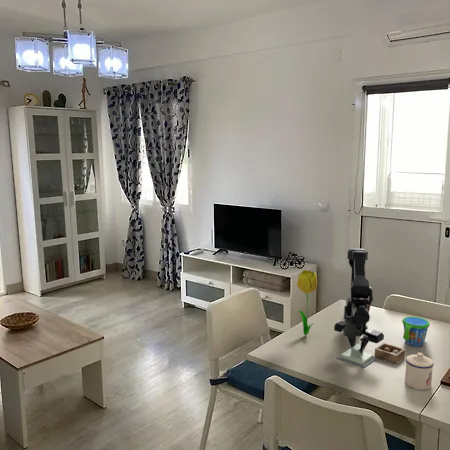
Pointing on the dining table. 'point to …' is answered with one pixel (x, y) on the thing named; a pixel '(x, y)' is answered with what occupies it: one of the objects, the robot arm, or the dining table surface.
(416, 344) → the snack cup
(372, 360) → the mat
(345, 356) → the lid
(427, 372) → the teacup with lid
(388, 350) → the crate
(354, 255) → the robot arm
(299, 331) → the dining table surface
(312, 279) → the flower
